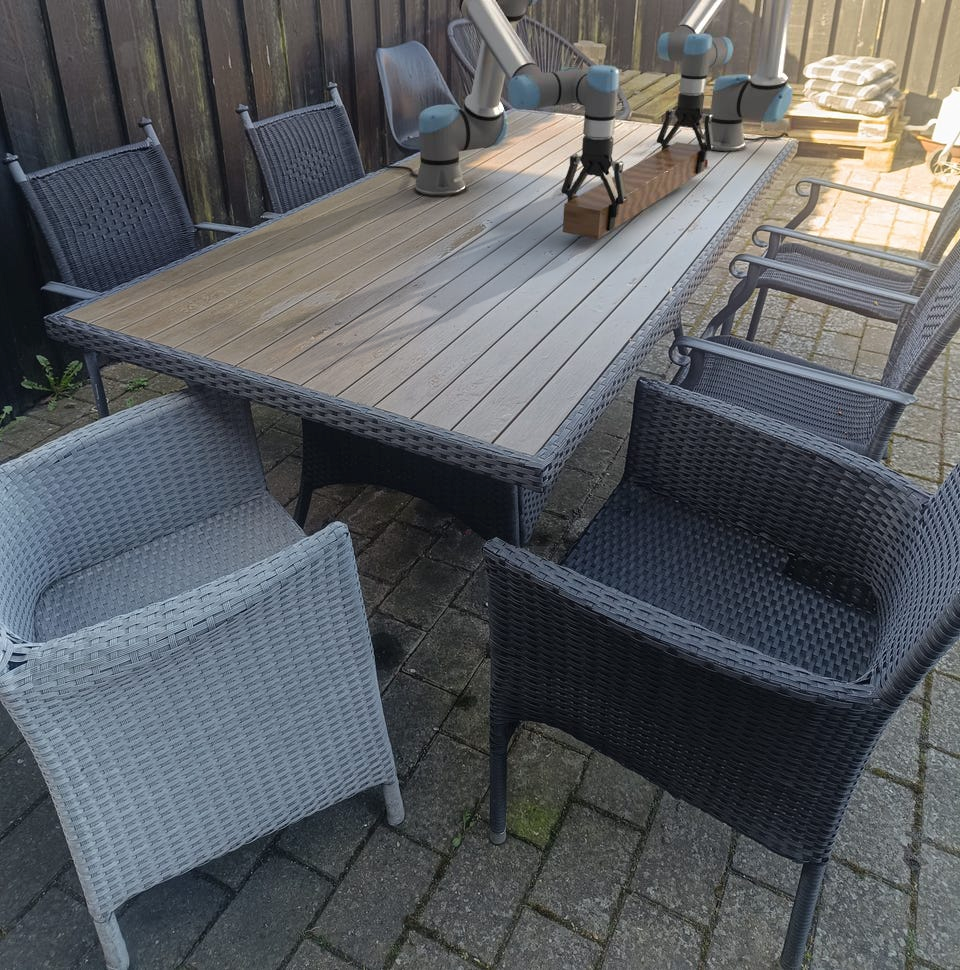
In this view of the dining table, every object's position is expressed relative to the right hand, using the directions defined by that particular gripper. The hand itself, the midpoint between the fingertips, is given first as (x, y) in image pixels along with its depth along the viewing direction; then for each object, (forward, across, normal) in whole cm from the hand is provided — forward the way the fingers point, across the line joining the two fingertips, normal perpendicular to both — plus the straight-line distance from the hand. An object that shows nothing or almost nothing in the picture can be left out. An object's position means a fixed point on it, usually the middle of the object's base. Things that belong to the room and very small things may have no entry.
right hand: (681, 170), depth 262 cm
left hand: (0, 0, +62) cm, 62 cm away
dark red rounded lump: (+4, +3, -21) cm, 21 cm away
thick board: (+1, 0, +31) cm, 31 cm away
